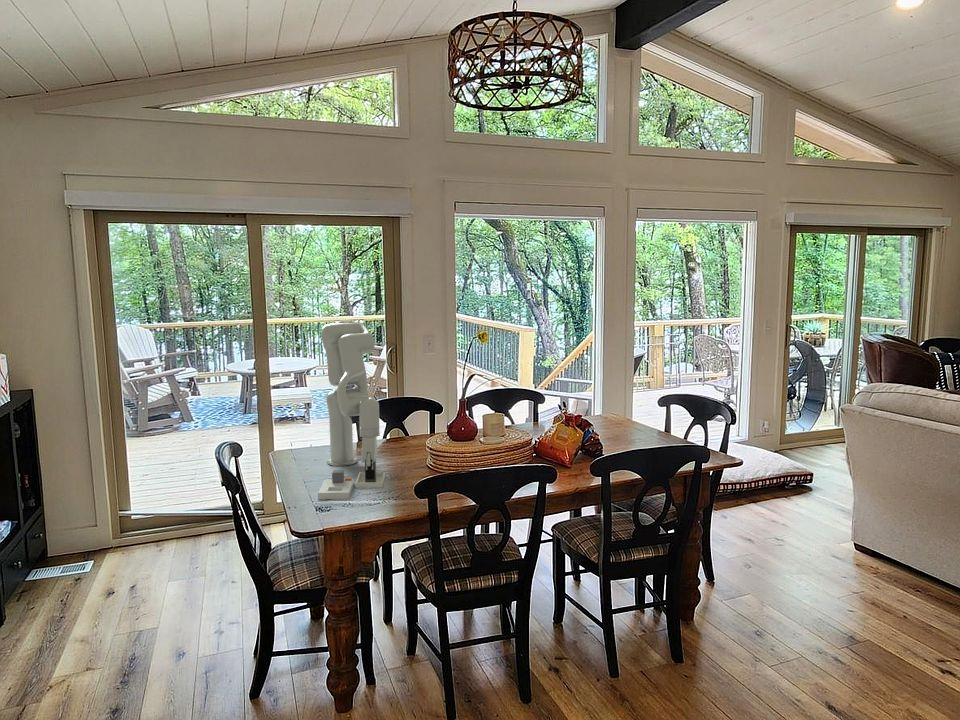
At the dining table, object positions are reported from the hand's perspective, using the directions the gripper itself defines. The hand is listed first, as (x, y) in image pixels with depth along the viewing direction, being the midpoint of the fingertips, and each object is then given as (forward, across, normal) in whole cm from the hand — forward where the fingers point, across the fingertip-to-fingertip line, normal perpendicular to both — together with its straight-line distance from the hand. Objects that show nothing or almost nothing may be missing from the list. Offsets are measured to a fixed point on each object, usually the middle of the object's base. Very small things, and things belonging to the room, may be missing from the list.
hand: (370, 477), depth 257 cm
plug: (+2, 0, 0) cm, 2 cm away
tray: (+2, 0, 0) cm, 2 cm away
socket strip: (+2, +10, -12) cm, 16 cm away
